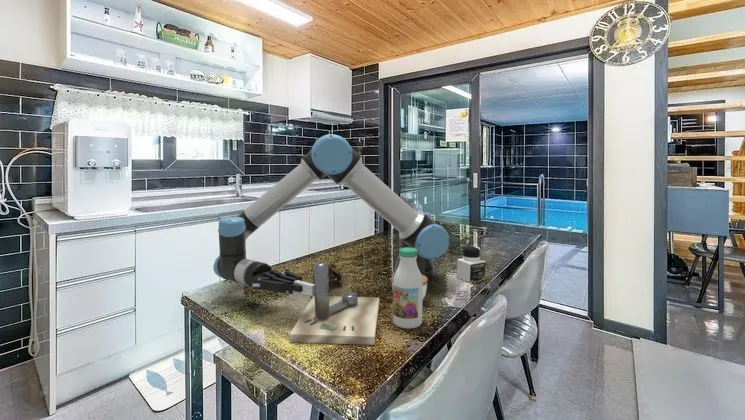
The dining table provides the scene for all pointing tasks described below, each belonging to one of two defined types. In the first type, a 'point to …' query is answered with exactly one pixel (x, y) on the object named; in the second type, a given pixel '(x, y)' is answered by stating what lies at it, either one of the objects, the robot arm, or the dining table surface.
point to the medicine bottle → (471, 265)
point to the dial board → (339, 323)
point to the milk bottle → (407, 291)
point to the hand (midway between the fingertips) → (313, 290)
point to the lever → (323, 293)
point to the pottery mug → (334, 274)
